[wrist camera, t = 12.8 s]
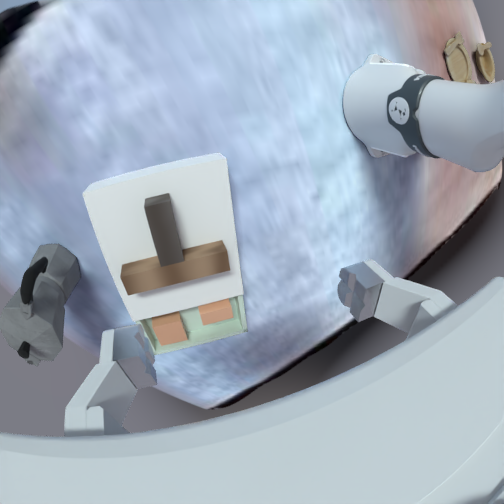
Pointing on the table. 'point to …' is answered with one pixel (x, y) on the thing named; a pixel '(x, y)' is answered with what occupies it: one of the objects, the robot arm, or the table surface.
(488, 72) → the tableware set
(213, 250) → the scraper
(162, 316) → the tile
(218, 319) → the tile
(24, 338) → the coffeepot
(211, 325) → the box
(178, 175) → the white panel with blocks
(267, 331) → the table surface
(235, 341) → the table surface
